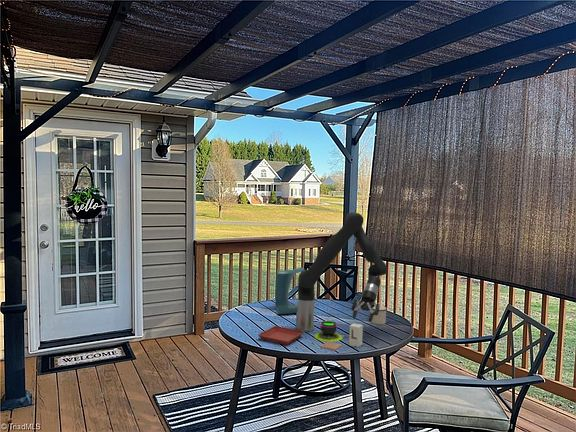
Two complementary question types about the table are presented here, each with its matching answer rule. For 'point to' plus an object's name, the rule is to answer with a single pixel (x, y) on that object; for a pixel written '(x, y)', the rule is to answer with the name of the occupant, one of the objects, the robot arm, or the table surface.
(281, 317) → the table surface
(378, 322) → the teacup with lid
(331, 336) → the toy cauldron
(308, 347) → the table surface
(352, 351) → the table surface
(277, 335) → the plant saucer
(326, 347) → the coaster
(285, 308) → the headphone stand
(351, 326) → the plain off-white block
